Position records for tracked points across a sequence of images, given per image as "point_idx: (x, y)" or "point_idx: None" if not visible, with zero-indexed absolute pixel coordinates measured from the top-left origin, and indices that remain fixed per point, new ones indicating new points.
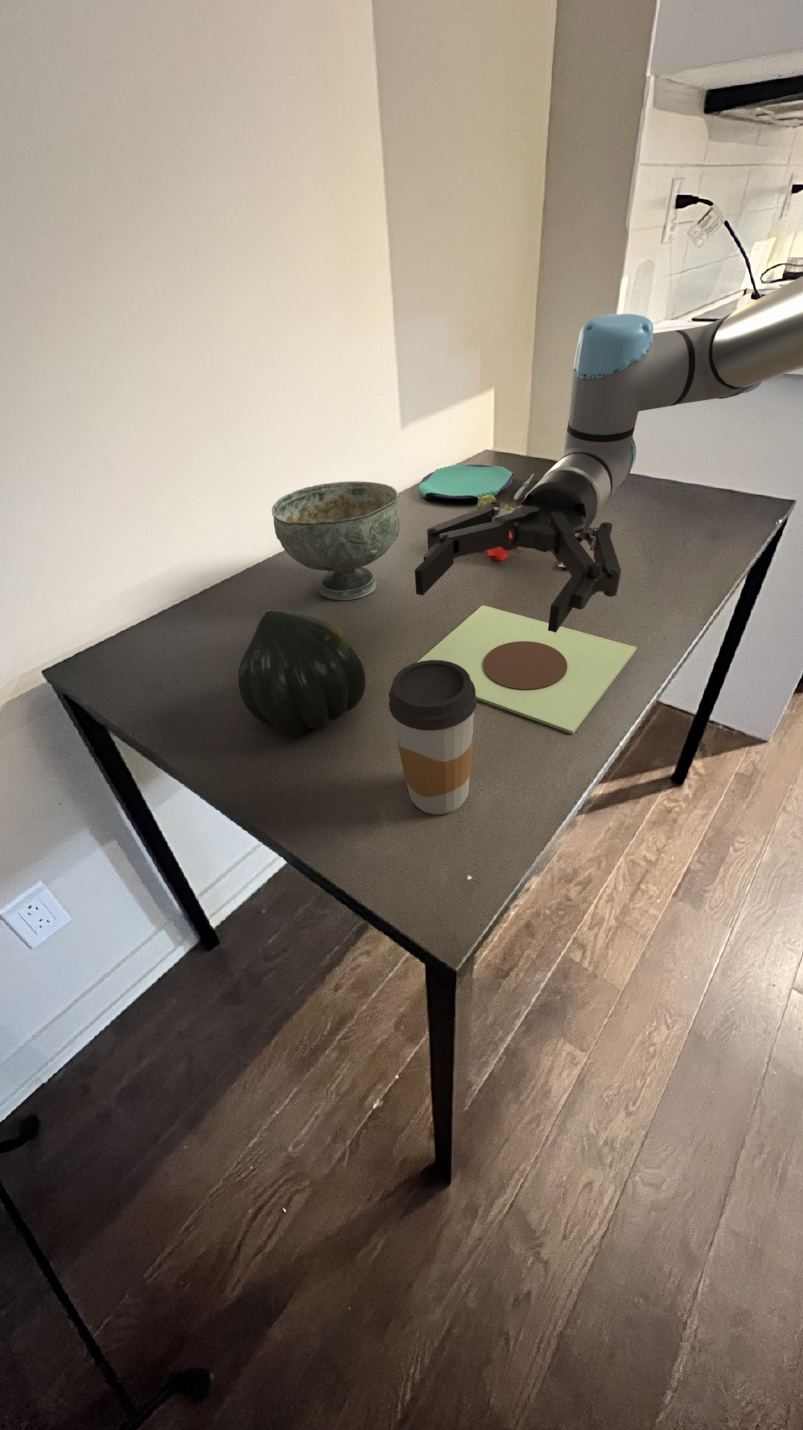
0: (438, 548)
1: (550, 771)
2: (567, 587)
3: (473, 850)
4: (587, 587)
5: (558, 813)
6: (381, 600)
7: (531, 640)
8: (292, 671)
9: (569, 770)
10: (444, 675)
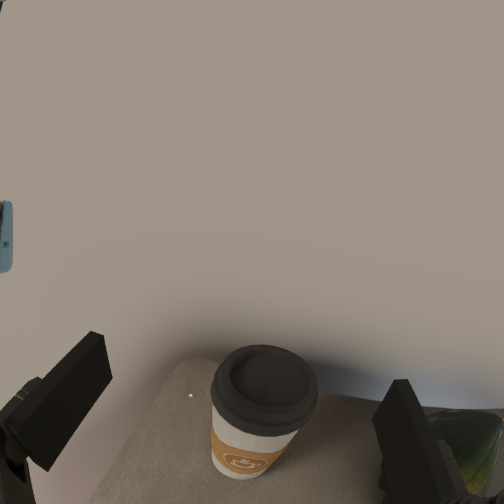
0: (438, 453)
1: (136, 496)
2: (58, 374)
3: (192, 414)
4: (18, 399)
5: (127, 450)
6: None
7: None
8: (432, 422)
9: (117, 497)
10: (262, 396)
